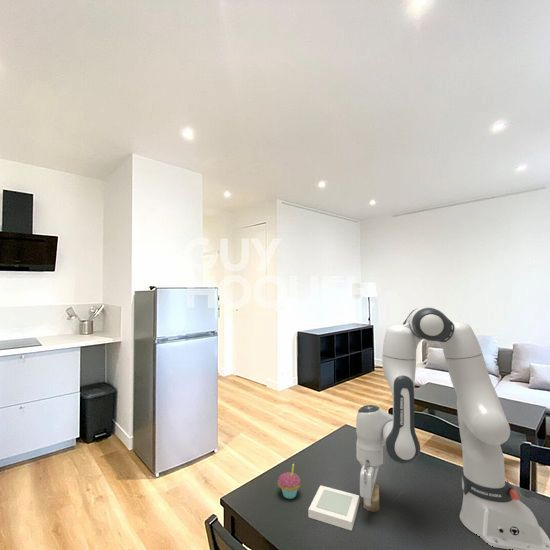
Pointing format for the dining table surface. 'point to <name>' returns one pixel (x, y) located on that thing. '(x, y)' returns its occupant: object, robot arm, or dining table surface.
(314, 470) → the dining table surface
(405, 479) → the dining table surface
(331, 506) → the base slab
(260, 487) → the dining table surface
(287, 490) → the cupcake
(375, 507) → the bread loaf
